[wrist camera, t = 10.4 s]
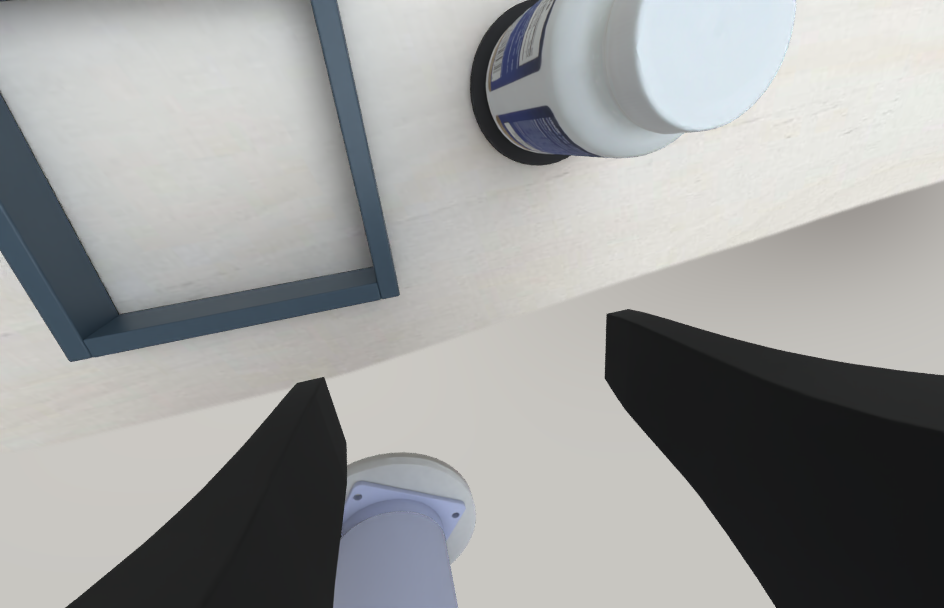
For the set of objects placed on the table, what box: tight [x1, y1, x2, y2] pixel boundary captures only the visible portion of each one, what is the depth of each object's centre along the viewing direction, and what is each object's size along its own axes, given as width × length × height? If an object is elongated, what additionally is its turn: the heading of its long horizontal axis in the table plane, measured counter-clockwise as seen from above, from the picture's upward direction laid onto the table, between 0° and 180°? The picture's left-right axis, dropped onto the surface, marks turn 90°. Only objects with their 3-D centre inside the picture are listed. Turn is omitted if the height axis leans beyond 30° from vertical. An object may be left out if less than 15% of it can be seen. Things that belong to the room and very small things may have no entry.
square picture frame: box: [0, 0, 400, 362], centre depth 15 cm, size 13×13×2 cm
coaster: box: [470, 0, 571, 165], centre depth 18 cm, size 6×6×1 cm
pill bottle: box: [486, 0, 796, 158], centre depth 13 cm, size 5×5×10 cm
